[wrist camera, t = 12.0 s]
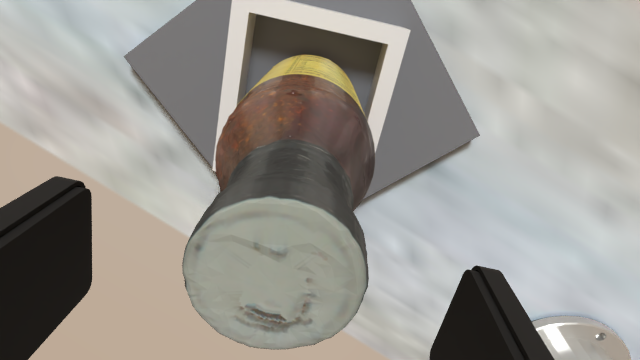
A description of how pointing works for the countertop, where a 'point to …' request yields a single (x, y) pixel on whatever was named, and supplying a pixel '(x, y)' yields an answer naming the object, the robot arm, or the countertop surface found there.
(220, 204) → the sauce bottle
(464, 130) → the locating plate
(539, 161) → the countertop surface
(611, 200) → the countertop surface
